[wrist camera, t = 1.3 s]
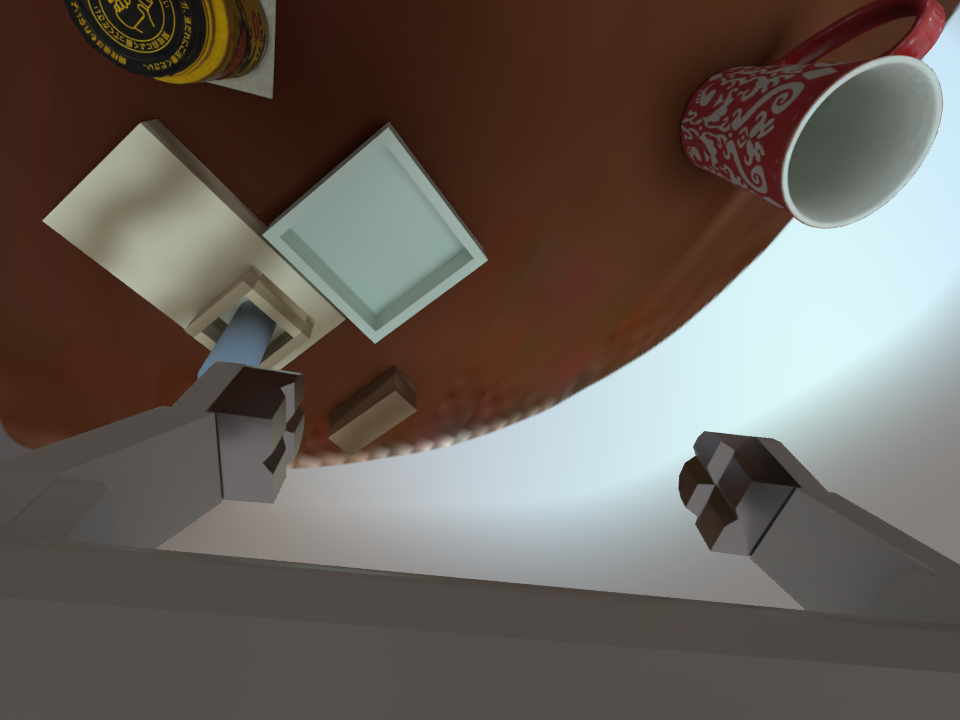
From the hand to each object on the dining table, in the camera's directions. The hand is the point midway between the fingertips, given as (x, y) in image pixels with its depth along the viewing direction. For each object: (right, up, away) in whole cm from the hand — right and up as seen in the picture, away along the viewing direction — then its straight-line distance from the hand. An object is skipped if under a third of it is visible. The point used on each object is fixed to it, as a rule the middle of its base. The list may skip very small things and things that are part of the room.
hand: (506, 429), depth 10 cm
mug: (+20, +22, +27) cm, 40 cm away
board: (-21, +9, +28) cm, 36 cm away
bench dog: (-11, -2, +37) cm, 38 cm away
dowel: (-18, +5, +28) cm, 34 cm away
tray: (-8, +12, +29) cm, 32 cm away
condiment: (-18, +23, +20) cm, 35 cm away
